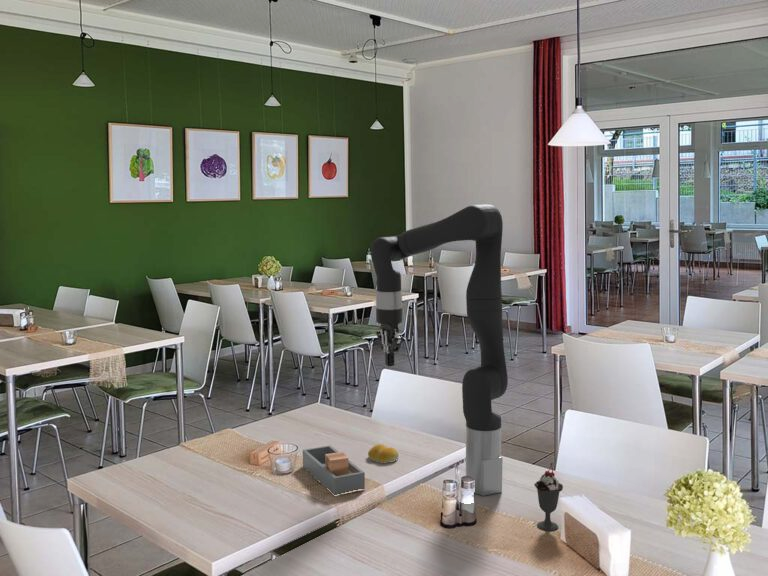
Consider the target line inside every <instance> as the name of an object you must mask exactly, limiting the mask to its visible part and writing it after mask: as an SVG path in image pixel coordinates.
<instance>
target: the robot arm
mask: <svg viewBox="0 0 768 576" xmlns="http://www.w3.org/2000/svg"><path fill="white" fill-rule="evenodd" d="M503 224H504V223H503V216H502V214H501V212H500V210H499V209H498V208H497V207H496V206H494V205H493V204H490V203H489V204H481V203H480V204H470V205H468V206H466V207H464V208H462V209H459V210H458V211H457V212H455V213H453V214H451V215H448V217H445V218H442V219H441V220H438V221H434V222H432V223H431V222H430V223H428V224H424V225H421V226H420V225H419V226H417V227H414V228H411V229H409V230H405V231H404V232H401V234H399V235H393V236H392V235H391V236H382V237H378V238H376V239H374V241H372V244H371V247H370V256H371V262H372V265H373V269H374V273H375V277H376V295H375V318H376V319H375V321H376V323H377V324H379V325H380V326H379V327H380V328H379V330H376V331H375V332H376V333H375V334H376V337H377V340H378V342H379V343H378V344H379V346H380V349H381V350H383V353H384V354H385V355H384V357H385V359H384V361H385V362H384V363H385V364H384V365H385V366H387V367H394V366H395V354H396V353H398V352H399V351H400V348H401V347H402V344H403V341H404V337H403V336H400V334H399V332H400V330H399V324H401V323H403V295H402V273H401V271H399V270H397V269H394V268H393V264H392V262H396V261H400V260H403V259H406V258H409V257H411V256H413V255H418V254H422V253H425V252H429V251H432V250H435V249H437V248H438V247H439V246H442V245H445V244H448V243H451V242H452V243H453V242H462V241H475V261H474V266H473V269H472V272H471V274H470V277H469V280H468V282H467V286H466V293H465V302H466V304H465V305H466V317H467V319H468V322H469V326H470V327H471V329H472V331H473V333H474V336H475V337H476V339H477V340H478V344H479V347H480V366H477V367H473V368H470V369H468V370H467V371H466V372H465V374H464V375H463V378H462V382H461V383H462V384H461V385H462V386H461V391H462V392H461V394H462V397H461V398H462V412H463V415H464V419H465V477H466V476H471V477H473V478H474V480H475V493H474V494H477V495H480V496H483V497H484V496H490V495H494V494H497V493H498V494H499V493H502V492H503V457H502V456H501V455H502V417H501V415H500V414H499V413H498V412H497V413H496V412H495V411H493V409H492V401H493V400H496V399H499V398H501V397H503V395H505V393H506V391H507V389H508V383H509V381H508V371H507V370H508V369H507V363H506V362H507V361H506V354H505V348H504V329H503V328H504V327H503V294H502V268H501V267H502V265H501V263H502V262H501V259H502V257H501V256H502V243H503V228H504V227H503Z"/></svg>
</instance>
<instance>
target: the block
mask: <svg viewBox="0 0 768 576" xmlns="http://www.w3.org/2000/svg"><path fill="white" fill-rule="evenodd" d="M348 460H349V457H348V456H347V455H346V453H344V452H343V451H338V453H331V454H325V467H326V468H327V469H328V470H329V471H330V472H331V473H333V474H334V475H335V476H336V477H337V476H342V475H347V474H348Z"/></svg>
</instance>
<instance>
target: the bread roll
mask: <svg viewBox="0 0 768 576" xmlns="http://www.w3.org/2000/svg"><path fill="white" fill-rule="evenodd" d="M367 455H368V458H369V459H370V460H371V461H372V460H373V461H372V462H377V461H378V462H382V463H381V464H385V463H384V462H390V461H394V460H396V459H397V460H398V459H399V451H398V450H397V449H396V448H394V447H388V446H387V445H385V444H375V445H373V446H372V447H371V448H369V450H368V452H367ZM397 460H396V461H397ZM378 462H377V463H378Z"/></svg>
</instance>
